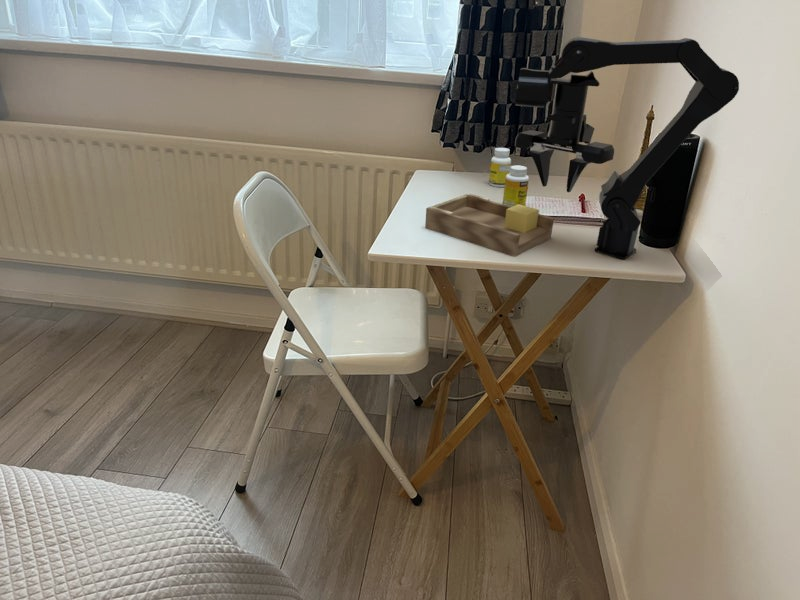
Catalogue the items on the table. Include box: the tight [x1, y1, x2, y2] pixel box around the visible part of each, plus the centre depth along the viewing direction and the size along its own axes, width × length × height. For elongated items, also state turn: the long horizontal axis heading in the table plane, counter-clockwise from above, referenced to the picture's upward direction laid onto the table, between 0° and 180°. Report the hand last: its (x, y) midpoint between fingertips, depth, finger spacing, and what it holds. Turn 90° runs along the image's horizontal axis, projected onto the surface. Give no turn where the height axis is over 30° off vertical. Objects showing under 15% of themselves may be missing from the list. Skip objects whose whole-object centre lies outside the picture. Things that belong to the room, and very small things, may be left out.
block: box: [505, 204, 540, 233], centre depth 130 cm, size 5×5×4 cm
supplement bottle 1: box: [488, 147, 512, 188], centre depth 165 cm, size 5×5×10 cm
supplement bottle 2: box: [502, 164, 530, 207], centre depth 146 cm, size 6×6×10 cm
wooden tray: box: [424, 193, 555, 257], centre depth 132 cm, size 23×15×5 cm, turn 49°
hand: (556, 189), depth 122 cm, fingers open, 5 cm apart
